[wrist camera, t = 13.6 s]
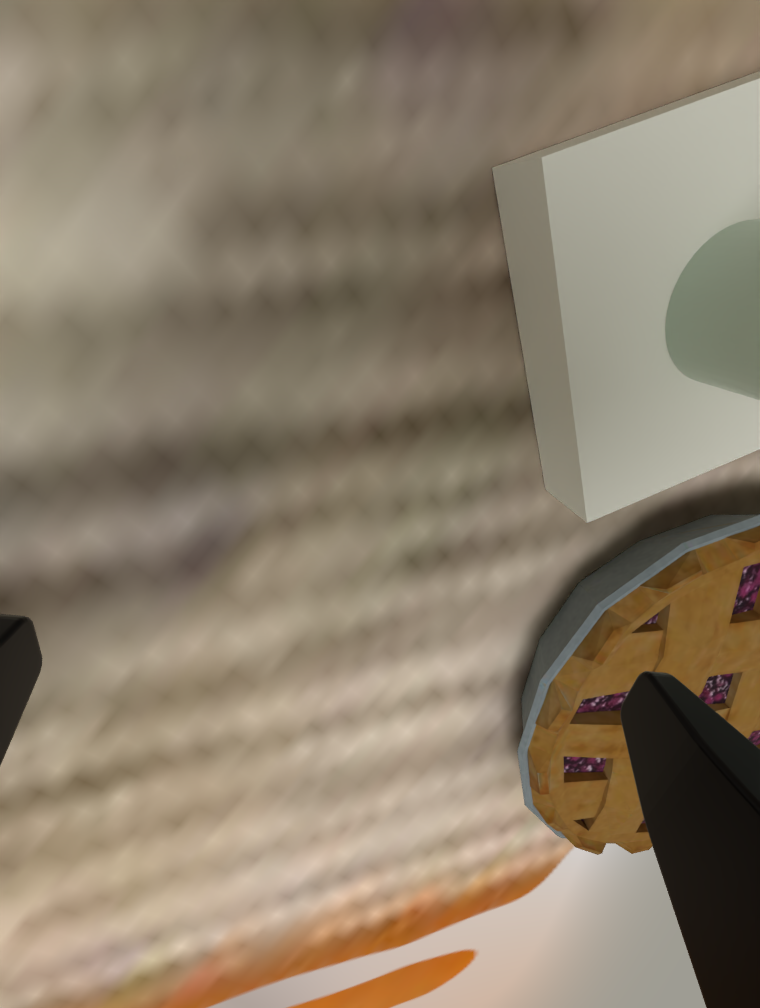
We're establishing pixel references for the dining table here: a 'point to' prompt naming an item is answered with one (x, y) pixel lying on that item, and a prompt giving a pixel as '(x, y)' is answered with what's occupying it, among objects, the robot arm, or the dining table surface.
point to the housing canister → (719, 312)
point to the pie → (638, 670)
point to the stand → (627, 293)
